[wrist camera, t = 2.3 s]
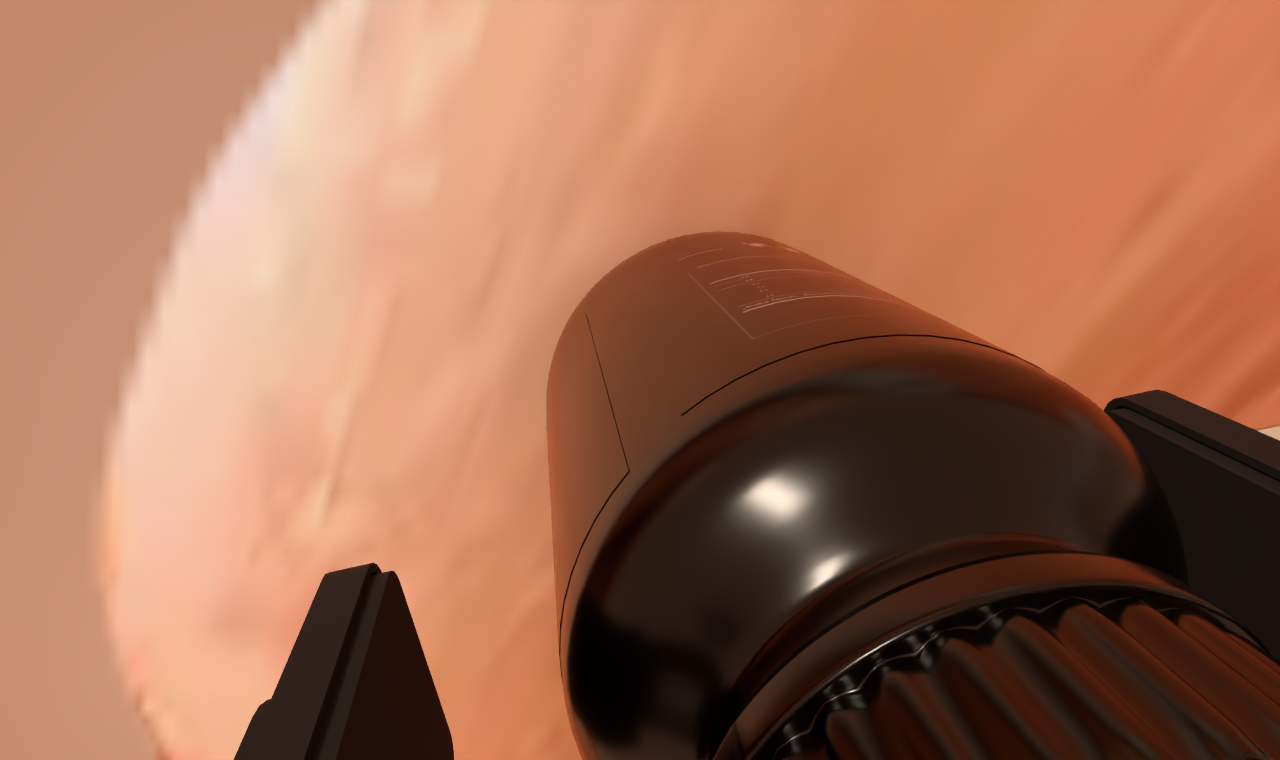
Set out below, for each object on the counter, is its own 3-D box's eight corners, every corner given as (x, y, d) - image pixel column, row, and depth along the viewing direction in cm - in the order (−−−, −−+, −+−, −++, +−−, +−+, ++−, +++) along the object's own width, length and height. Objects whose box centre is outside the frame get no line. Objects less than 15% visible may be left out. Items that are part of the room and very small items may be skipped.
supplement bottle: (803, 545, 17) (1281, 1335, 6) (516, 498, 16) (462, 1407, 5) (908, 264, 15) (1918, 692, 4) (588, 183, 14) (792, 488, 3)
